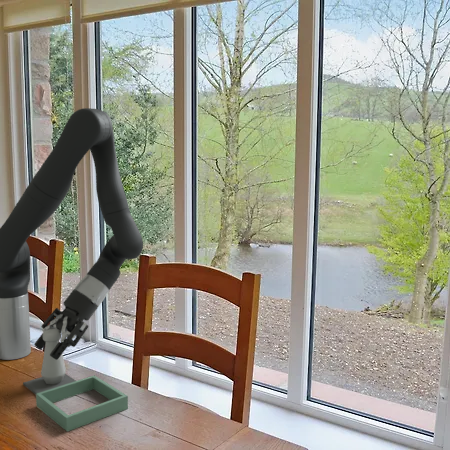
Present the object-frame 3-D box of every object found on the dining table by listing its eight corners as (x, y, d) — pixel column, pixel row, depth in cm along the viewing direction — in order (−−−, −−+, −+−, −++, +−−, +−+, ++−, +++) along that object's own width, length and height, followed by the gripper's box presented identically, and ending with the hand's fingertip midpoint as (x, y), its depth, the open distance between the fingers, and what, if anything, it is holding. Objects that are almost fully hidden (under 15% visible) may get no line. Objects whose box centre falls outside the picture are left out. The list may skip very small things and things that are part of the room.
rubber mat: (23, 384, 134) (23, 382, 134) (61, 373, 141) (61, 371, 141) (41, 399, 127) (41, 396, 127) (80, 386, 134) (80, 383, 134)
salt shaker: (36, 383, 134) (33, 331, 132) (53, 374, 139) (51, 324, 137) (54, 388, 131) (51, 336, 129) (71, 379, 136) (69, 328, 134)
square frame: (36, 406, 123) (35, 393, 123) (94, 387, 133) (94, 375, 133) (67, 431, 113) (66, 417, 112) (128, 408, 123) (127, 395, 122)
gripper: (63, 283, 141) (21, 336, 135) (91, 294, 130) (47, 353, 124) (82, 299, 145) (43, 352, 139) (111, 311, 135) (69, 369, 129)
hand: (45, 352), depth 132 cm, fingers open, 8 cm apart
